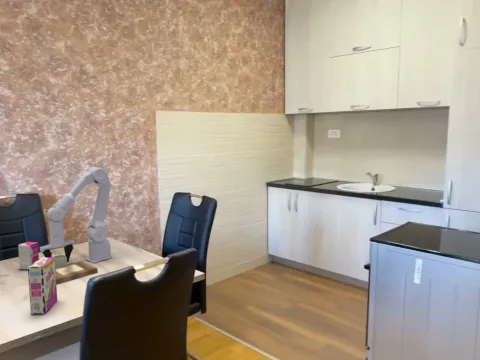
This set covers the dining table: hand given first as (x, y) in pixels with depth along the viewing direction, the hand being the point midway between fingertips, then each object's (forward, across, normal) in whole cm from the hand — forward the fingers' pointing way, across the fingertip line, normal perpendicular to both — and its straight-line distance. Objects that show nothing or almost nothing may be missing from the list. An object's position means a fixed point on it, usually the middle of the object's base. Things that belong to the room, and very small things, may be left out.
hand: (58, 263), depth 176 cm
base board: (+2, +1, +12) cm, 13 cm away
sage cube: (+2, 0, 0) cm, 2 cm away
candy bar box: (+2, +21, +38) cm, 43 cm away
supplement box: (+2, +9, -10) cm, 13 cm away
